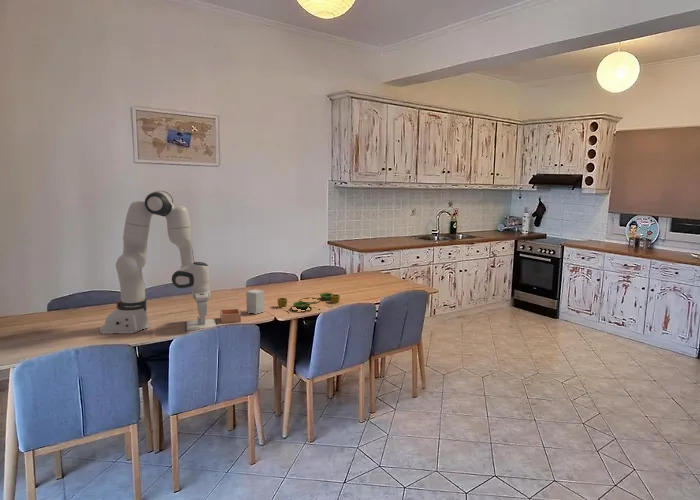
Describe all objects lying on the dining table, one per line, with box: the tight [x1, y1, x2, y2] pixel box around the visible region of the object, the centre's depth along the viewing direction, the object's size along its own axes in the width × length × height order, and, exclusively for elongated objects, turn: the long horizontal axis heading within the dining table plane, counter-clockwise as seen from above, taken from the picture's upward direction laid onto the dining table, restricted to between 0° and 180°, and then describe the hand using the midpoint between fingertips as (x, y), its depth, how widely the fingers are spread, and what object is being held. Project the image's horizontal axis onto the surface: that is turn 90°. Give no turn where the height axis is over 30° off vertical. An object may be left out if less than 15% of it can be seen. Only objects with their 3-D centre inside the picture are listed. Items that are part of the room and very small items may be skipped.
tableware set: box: [276, 292, 344, 312], centre depth 284 cm, size 41×28×6 cm
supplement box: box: [245, 288, 265, 315], centre depth 264 cm, size 7×7×13 cm
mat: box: [184, 319, 219, 332], centre depth 238 cm, size 16×16×1 cm
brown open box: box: [219, 308, 242, 324], centre depth 248 cm, size 10×10×5 cm
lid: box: [186, 315, 216, 332], centre depth 238 cm, size 14×14×4 cm
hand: (202, 319), depth 238 cm, fingers open, 8 cm apart
